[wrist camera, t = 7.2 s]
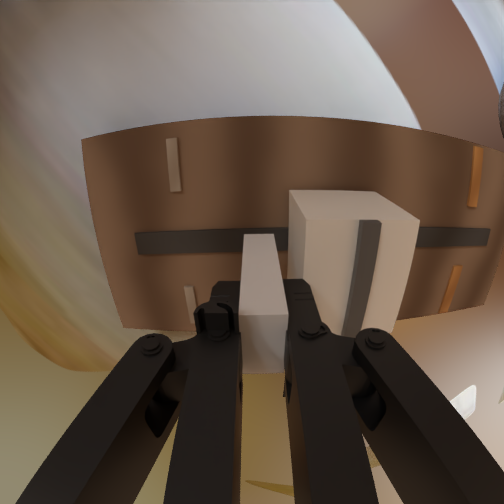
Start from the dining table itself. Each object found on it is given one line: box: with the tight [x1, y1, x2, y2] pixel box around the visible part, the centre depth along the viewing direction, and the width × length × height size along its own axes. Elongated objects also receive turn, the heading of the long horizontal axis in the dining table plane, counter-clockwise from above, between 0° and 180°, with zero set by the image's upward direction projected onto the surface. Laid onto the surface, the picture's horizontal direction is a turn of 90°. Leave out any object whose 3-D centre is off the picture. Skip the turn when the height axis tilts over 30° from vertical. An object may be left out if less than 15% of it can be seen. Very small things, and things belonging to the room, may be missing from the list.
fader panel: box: [81, 116, 504, 331], centre depth 18 cm, size 32×14×3 cm, turn 92°
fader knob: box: [287, 190, 420, 338], centre depth 13 cm, size 5×6×5 cm
